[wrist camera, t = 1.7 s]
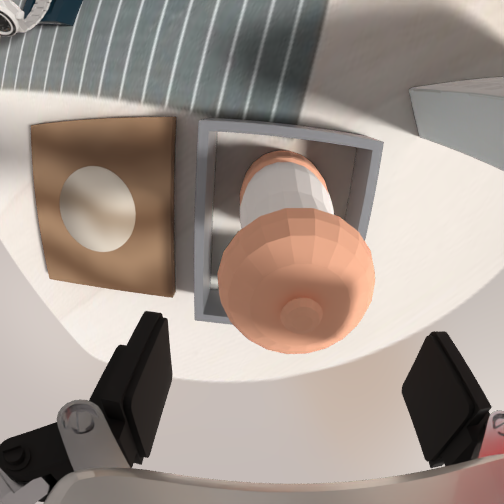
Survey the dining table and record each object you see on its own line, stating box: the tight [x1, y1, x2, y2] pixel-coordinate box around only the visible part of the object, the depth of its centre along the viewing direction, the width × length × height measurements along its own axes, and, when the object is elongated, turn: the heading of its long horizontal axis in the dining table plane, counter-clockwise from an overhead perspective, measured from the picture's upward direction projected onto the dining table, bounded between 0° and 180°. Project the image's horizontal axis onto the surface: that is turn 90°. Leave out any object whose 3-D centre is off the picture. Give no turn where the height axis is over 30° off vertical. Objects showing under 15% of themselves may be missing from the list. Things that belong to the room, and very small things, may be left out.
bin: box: [194, 118, 384, 324], centre depth 28 cm, size 18×14×4 cm
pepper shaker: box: [217, 151, 375, 354], centre depth 20 cm, size 7×7×19 cm
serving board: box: [31, 117, 176, 298], centre depth 30 cm, size 18×16×1 cm
